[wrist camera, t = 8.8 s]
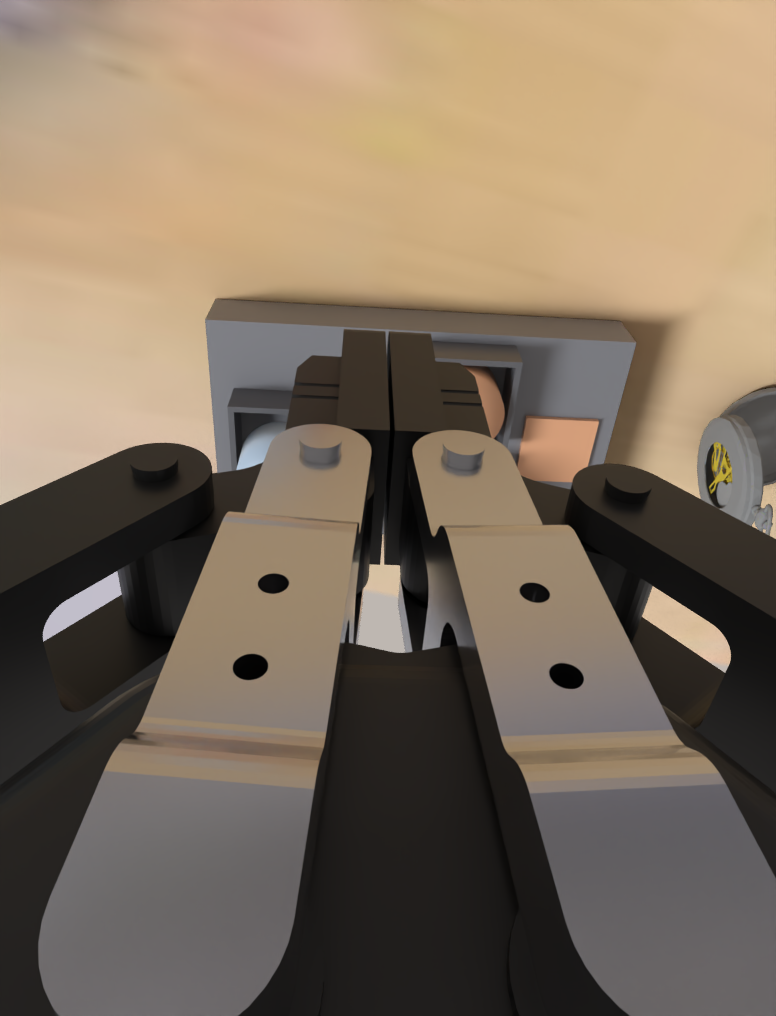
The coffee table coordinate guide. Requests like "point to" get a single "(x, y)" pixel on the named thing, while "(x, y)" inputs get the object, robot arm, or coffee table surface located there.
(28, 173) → the coffee table surface
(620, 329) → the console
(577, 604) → the robot arm
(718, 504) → the pocket watch
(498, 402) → the terracotta button
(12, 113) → the coffee table surface
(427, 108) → the coffee table surface
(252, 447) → the slate button
